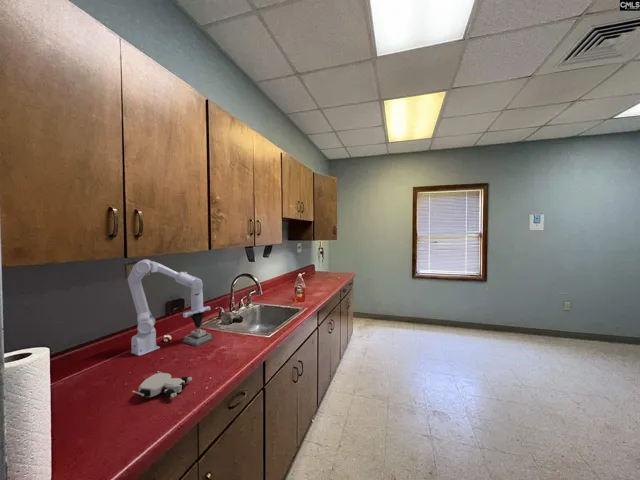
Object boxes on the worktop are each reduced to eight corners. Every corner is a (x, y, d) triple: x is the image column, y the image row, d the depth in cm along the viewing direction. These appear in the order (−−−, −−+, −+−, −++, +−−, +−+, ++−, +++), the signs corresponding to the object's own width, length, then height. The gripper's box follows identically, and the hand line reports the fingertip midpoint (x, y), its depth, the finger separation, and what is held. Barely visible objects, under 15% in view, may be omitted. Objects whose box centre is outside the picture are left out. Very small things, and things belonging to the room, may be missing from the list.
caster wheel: (244, 325, 163) (233, 327, 154) (230, 319, 167) (219, 321, 158) (246, 314, 163) (236, 317, 154) (233, 309, 168) (222, 311, 158)
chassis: (196, 346, 126) (196, 341, 126) (182, 342, 132) (182, 336, 132) (213, 339, 134) (213, 334, 134) (199, 335, 140) (199, 330, 140)
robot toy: (194, 384, 95) (156, 381, 96) (194, 372, 95) (156, 369, 96) (173, 406, 83) (129, 402, 83) (174, 393, 83) (130, 389, 83)
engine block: (198, 342, 129) (198, 332, 129) (191, 340, 132) (190, 330, 132) (206, 339, 133) (205, 329, 133) (198, 337, 136) (198, 327, 136)
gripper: (188, 305, 124) (189, 333, 125) (213, 299, 137) (214, 323, 137) (180, 304, 128) (181, 330, 128) (205, 297, 141) (206, 321, 141)
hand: (197, 327), depth 133 cm, fingers closed
